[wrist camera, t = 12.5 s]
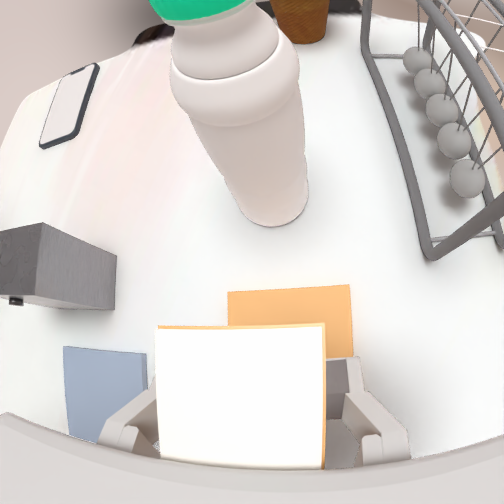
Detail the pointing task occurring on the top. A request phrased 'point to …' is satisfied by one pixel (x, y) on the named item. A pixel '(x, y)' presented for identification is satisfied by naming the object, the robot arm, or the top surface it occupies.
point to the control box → (55, 270)
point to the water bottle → (242, 101)
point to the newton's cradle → (447, 120)
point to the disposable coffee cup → (301, 19)
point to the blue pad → (99, 387)
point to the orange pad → (298, 312)
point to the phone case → (69, 106)
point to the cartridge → (242, 396)
